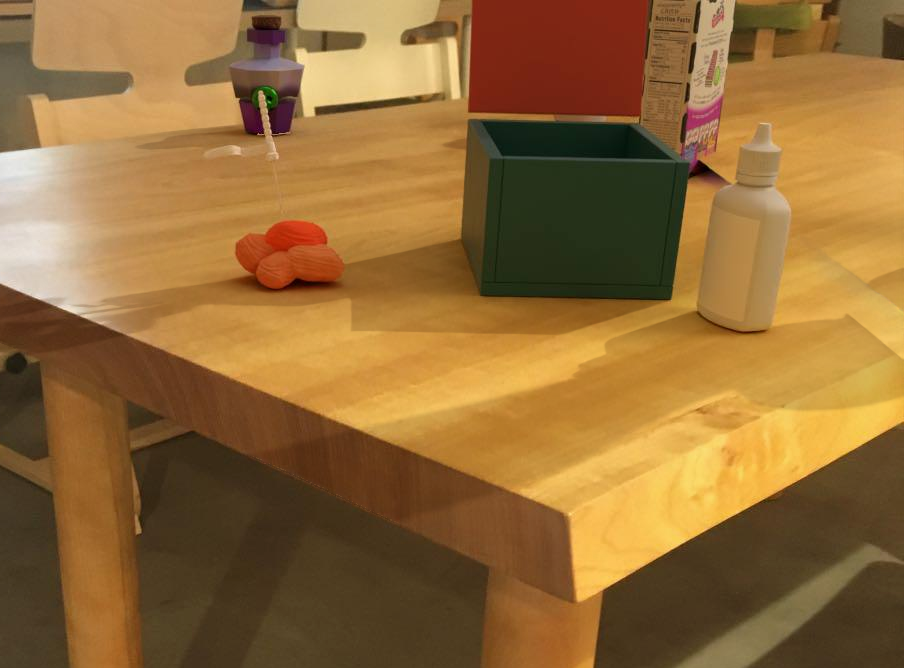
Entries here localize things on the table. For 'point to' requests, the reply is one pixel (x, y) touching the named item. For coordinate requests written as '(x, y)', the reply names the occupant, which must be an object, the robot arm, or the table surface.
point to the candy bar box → (687, 74)
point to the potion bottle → (266, 78)
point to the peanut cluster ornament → (282, 233)
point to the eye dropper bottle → (746, 241)
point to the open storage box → (572, 209)
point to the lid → (557, 57)
